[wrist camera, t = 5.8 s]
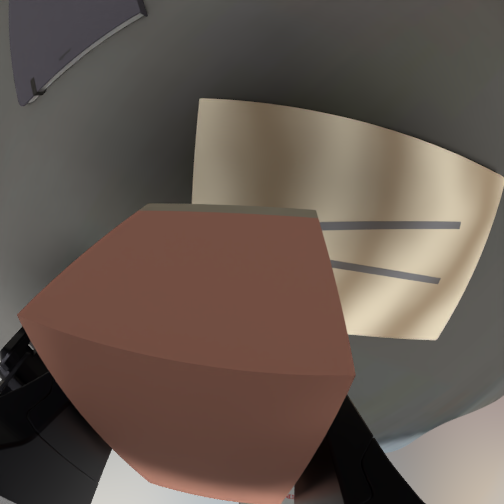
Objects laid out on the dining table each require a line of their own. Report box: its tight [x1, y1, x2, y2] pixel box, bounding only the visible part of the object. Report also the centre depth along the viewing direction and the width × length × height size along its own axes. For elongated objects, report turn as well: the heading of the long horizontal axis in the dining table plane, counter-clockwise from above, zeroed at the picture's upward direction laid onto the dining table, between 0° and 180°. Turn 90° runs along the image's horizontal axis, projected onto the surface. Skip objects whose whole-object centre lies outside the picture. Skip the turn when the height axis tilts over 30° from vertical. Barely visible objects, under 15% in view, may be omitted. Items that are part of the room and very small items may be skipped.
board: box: [192, 98, 504, 340], centre depth 16 cm, size 20×14×1 cm
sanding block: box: [17, 203, 355, 504], centre depth 7 cm, size 4×8×5 cm, turn 0°
